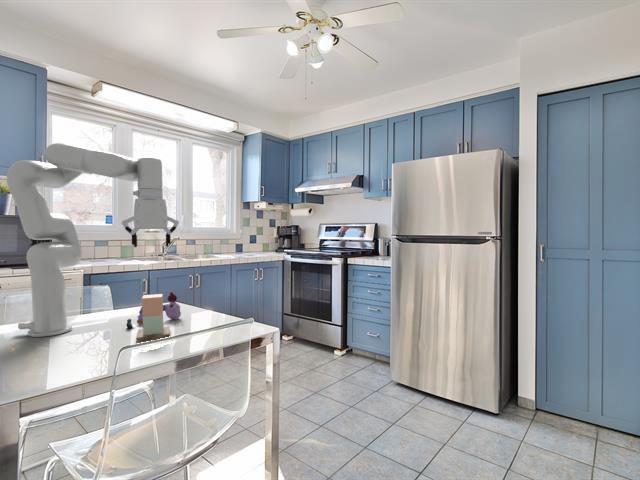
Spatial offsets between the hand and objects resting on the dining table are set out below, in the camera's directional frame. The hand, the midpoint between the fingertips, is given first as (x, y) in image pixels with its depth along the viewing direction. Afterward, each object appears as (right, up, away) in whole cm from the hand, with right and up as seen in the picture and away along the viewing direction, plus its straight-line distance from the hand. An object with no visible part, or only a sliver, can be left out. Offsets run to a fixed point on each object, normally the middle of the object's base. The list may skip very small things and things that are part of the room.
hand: (151, 246), depth 122 cm
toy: (-7, -30, +22) cm, 37 cm away
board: (0, -30, +1) cm, 30 cm away
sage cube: (0, -29, +1) cm, 29 cm away
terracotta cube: (0, -23, +1) cm, 23 cm away
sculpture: (-12, -31, +11) cm, 35 cm away
